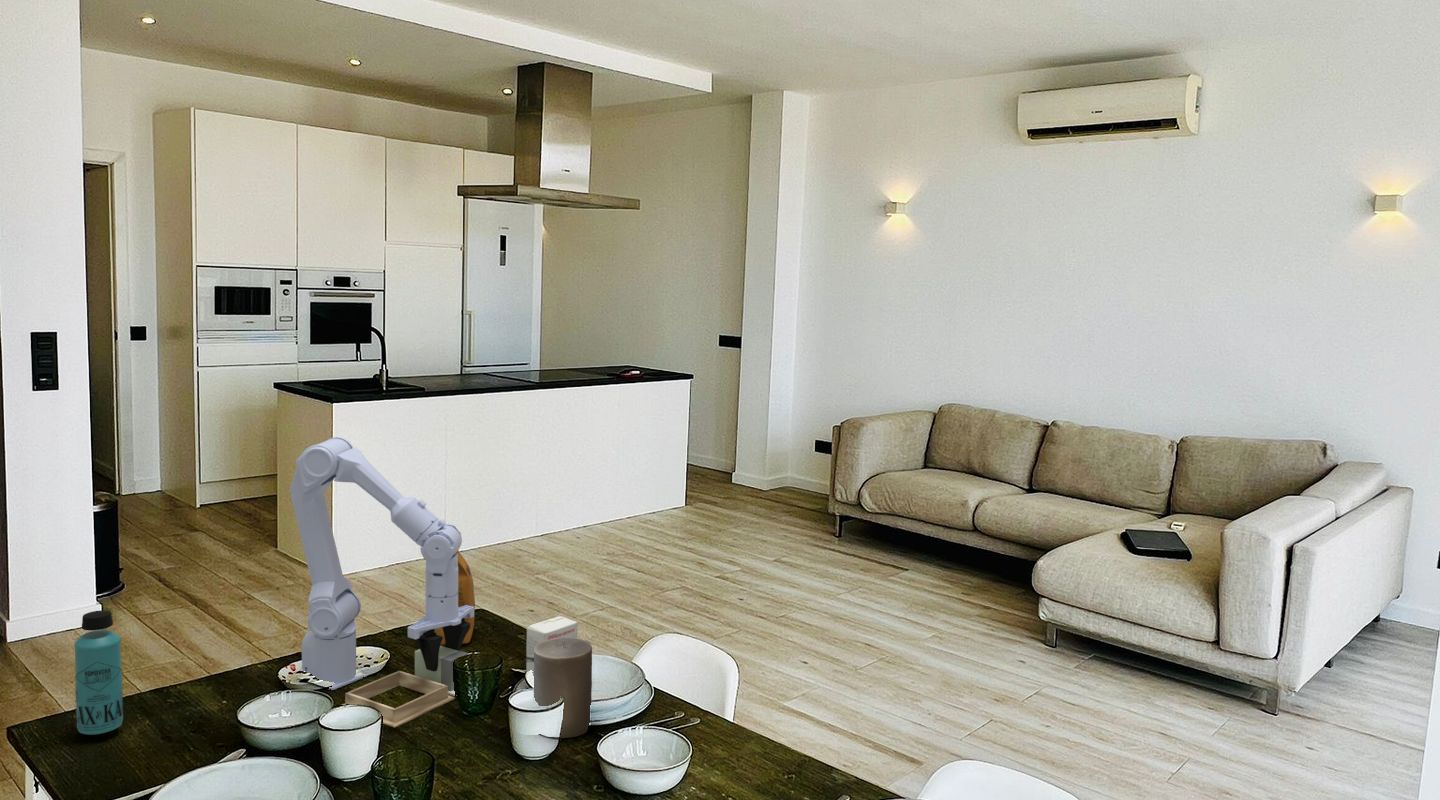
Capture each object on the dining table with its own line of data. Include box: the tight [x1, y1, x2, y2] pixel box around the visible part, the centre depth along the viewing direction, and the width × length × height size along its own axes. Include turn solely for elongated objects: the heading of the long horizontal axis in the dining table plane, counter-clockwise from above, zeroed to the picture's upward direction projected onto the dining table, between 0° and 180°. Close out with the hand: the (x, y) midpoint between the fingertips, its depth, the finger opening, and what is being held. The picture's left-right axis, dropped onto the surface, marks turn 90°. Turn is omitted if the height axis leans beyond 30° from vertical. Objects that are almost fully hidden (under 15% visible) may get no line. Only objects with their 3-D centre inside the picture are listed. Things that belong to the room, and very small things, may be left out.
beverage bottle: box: [73, 610, 125, 735], centre depth 157 cm, size 6×7×20 cm
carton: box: [341, 670, 456, 728], centre depth 173 cm, size 14×14×2 cm
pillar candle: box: [533, 638, 593, 739], centre depth 166 cm, size 10×10×15 cm
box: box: [414, 645, 470, 691], centre depth 182 cm, size 9×5×6 cm, turn 60°
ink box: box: [525, 615, 579, 676], centre depth 183 cm, size 9×5×12 cm, turn 143°
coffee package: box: [435, 527, 476, 646], centre depth 204 cm, size 10×12×22 cm
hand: (441, 665), depth 182 cm, fingers closed on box, 4 cm apart
